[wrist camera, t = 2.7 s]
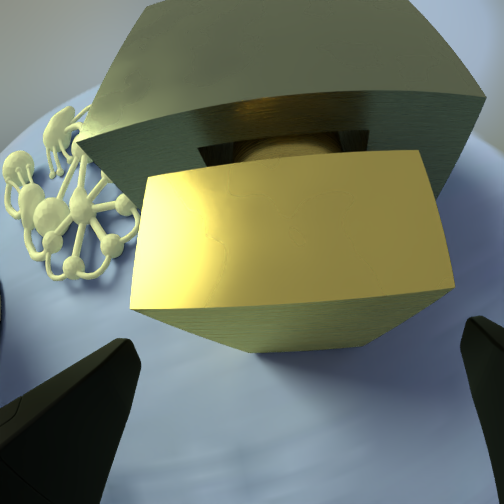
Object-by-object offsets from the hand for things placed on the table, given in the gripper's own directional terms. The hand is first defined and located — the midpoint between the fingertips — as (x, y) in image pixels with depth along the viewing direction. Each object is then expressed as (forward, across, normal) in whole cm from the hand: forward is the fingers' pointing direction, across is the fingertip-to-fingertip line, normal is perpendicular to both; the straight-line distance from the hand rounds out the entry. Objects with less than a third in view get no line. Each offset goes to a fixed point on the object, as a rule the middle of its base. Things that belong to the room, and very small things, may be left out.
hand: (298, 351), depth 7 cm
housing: (+14, 0, -1) cm, 14 cm away
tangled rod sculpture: (+17, +19, -3) cm, 26 cm away
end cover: (+11, 0, +2) cm, 11 cm away
